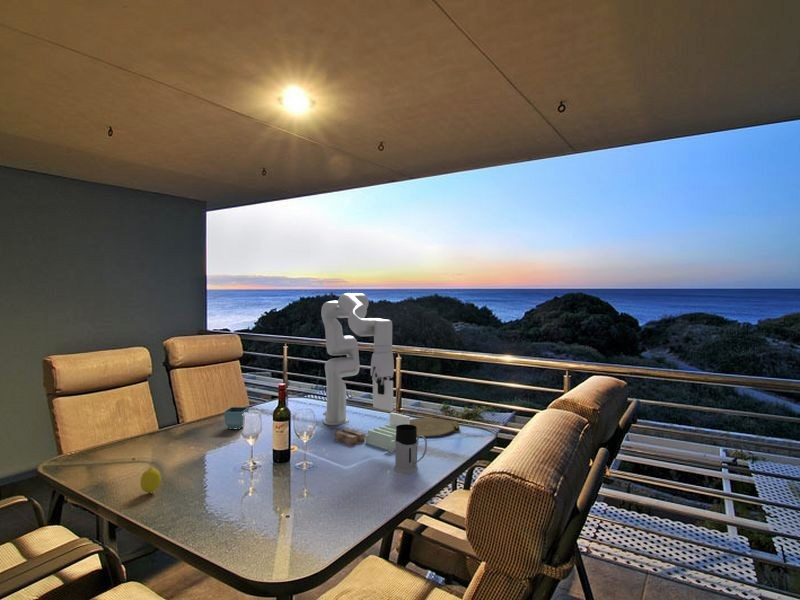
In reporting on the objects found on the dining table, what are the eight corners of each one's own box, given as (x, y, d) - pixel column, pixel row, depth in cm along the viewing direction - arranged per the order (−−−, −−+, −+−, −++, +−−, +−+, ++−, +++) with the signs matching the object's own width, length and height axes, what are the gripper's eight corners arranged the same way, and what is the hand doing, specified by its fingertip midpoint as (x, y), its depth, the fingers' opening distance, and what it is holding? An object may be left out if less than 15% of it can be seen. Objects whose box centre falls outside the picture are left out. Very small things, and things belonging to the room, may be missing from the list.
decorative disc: (396, 416, 219) (455, 414, 219) (397, 423, 219) (456, 420, 219) (394, 434, 191) (462, 431, 190) (395, 441, 191) (463, 439, 190)
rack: (365, 444, 182) (365, 418, 182) (392, 434, 195) (392, 410, 194) (389, 452, 173) (390, 424, 173) (416, 441, 186) (416, 416, 185)
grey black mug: (406, 462, 163) (406, 422, 162) (434, 473, 152) (434, 430, 152) (389, 468, 156) (389, 427, 156) (417, 480, 146) (417, 436, 146)
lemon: (146, 499, 132) (146, 472, 132) (136, 494, 135) (137, 469, 134) (164, 492, 136) (164, 467, 136) (154, 488, 139) (155, 463, 139)
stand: (333, 441, 185) (333, 432, 185) (346, 437, 191) (346, 428, 191) (352, 447, 178) (352, 438, 178) (365, 443, 183) (365, 433, 183)
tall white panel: (373, 407, 182) (372, 378, 182) (375, 406, 183) (375, 378, 183) (390, 410, 175) (390, 381, 176) (393, 410, 177) (393, 380, 177)
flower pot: (242, 431, 198) (242, 411, 198) (223, 431, 199) (223, 411, 198) (249, 425, 207) (249, 407, 207) (230, 425, 207) (231, 406, 207)
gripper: (389, 347, 188) (388, 389, 188) (363, 350, 176) (362, 395, 176) (402, 348, 183) (401, 391, 183) (376, 351, 171) (376, 398, 171)
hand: (382, 393), depth 179 cm, fingers closed on tall white panel, 1 cm apart
